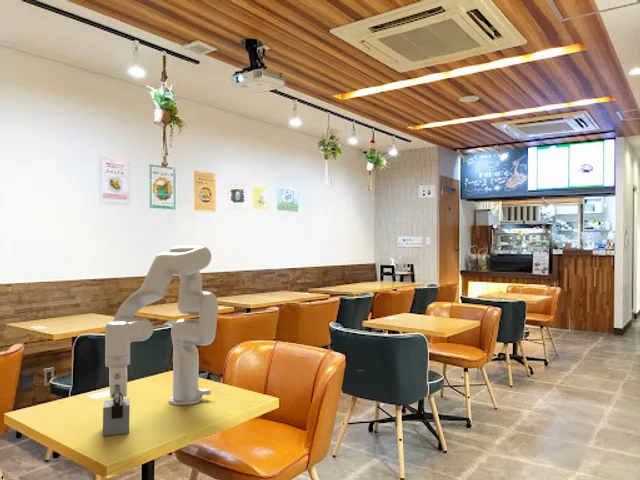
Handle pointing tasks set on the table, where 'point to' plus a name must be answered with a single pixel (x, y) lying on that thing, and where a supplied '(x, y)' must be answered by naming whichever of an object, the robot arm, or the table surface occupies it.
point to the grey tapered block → (116, 424)
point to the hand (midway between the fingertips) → (117, 413)
